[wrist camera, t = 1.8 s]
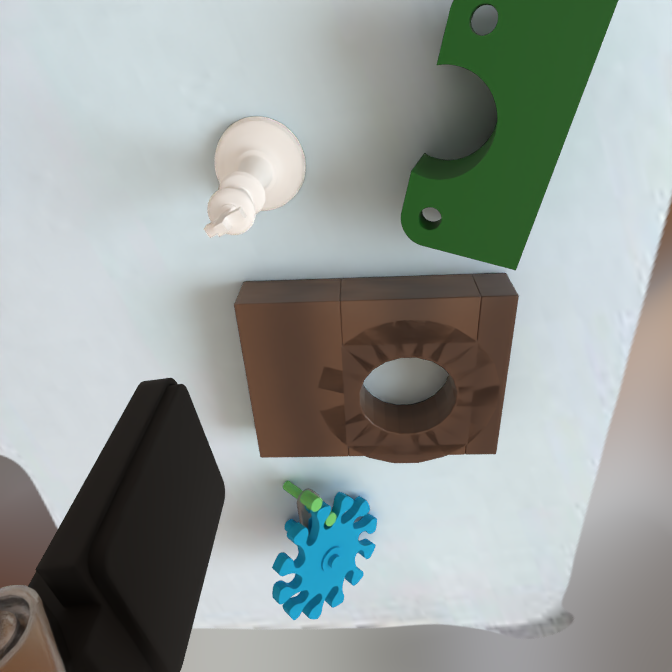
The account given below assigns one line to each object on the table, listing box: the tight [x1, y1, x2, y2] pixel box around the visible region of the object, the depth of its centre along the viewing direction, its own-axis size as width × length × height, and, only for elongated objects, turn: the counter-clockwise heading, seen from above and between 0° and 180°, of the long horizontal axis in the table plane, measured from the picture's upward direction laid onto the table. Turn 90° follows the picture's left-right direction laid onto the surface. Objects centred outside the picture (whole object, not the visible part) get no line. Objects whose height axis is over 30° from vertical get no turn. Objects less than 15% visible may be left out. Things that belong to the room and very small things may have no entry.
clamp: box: [401, 0, 618, 270], centre depth 25 cm, size 12×6×9 cm
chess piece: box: [204, 116, 306, 238], centre depth 25 cm, size 5×5×10 cm
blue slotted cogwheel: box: [272, 481, 377, 620], centre depth 42 cm, size 11×6×10 cm
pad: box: [234, 273, 519, 463], centre depth 34 cm, size 16×13×3 cm
